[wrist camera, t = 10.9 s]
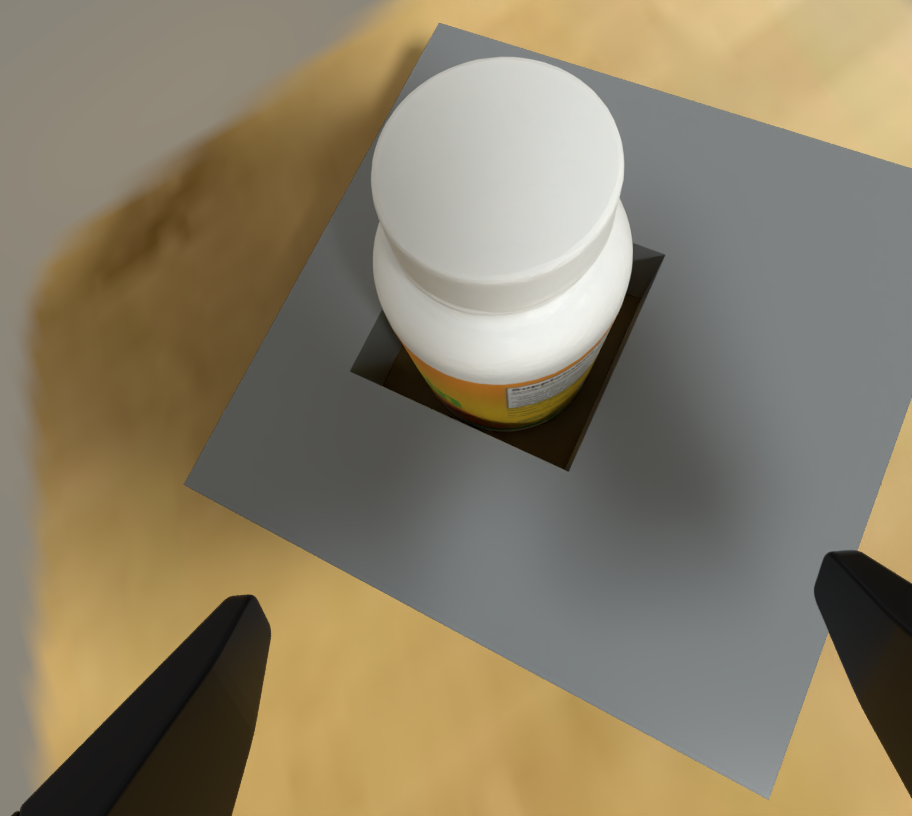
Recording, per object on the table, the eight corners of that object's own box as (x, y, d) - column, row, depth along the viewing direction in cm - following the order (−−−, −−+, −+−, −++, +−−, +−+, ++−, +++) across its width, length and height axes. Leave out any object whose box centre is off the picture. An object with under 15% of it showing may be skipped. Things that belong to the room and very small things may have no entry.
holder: (719, 745, 15) (768, 800, 12) (237, 491, 18) (183, 484, 15) (905, 247, 17) (985, 191, 14) (450, 95, 20) (439, 22, 17)
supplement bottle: (396, 325, 18) (271, 118, 9) (536, 249, 18) (556, -38, 9) (472, 465, 17) (418, 393, 8) (622, 383, 17) (750, 212, 8)
